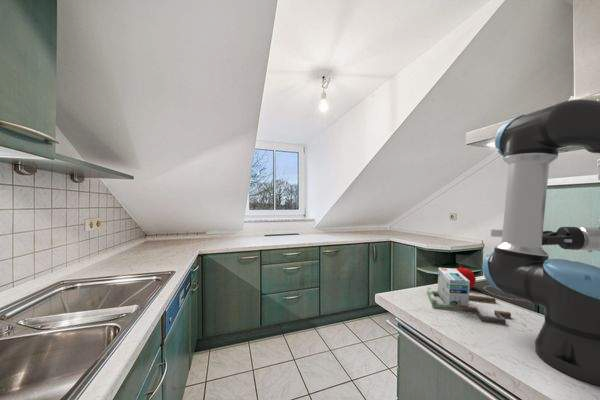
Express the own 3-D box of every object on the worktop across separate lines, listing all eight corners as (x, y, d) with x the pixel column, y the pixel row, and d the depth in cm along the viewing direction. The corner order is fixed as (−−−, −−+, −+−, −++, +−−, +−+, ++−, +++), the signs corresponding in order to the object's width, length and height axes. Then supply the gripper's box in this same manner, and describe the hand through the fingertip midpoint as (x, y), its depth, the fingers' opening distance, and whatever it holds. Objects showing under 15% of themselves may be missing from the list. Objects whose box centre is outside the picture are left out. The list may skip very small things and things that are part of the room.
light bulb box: (469, 309, 83) (471, 281, 82) (448, 308, 84) (449, 280, 83) (454, 293, 94) (456, 267, 92) (436, 292, 95) (437, 267, 93)
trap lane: (519, 327, 72) (519, 318, 72) (435, 314, 80) (435, 306, 80) (488, 296, 94) (488, 290, 94) (425, 288, 103) (425, 283, 103)
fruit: (463, 283, 109) (463, 261, 109) (481, 290, 100) (480, 267, 100) (445, 284, 108) (445, 262, 108) (462, 292, 99) (461, 268, 99)
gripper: (610, 258, 66) (515, 252, 73) (553, 243, 89) (485, 240, 97) (610, 231, 66) (514, 228, 73) (553, 223, 89) (485, 221, 97)
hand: (497, 235), depth 85 cm, fingers open, 13 cm apart
